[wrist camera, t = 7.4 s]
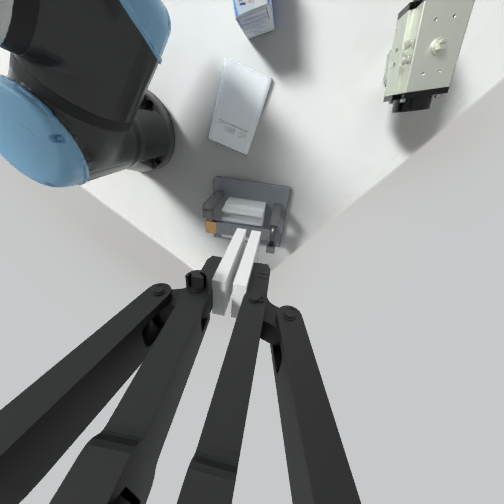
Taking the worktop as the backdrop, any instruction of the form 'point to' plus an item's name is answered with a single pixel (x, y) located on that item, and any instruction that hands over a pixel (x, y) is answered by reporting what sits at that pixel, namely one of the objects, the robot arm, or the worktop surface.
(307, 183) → the worktop surface
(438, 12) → the pneumatic valve
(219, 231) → the lever
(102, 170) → the robot arm
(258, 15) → the medicine box
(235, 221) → the heatsink base
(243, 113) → the external hard drive
